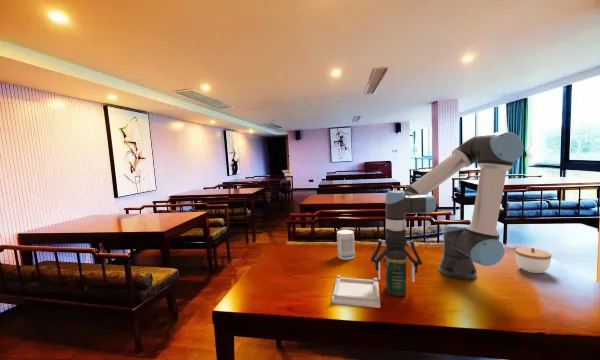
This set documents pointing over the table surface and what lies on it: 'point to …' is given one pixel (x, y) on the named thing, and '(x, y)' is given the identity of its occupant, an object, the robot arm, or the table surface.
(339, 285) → the white square tray
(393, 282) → the coffee jar
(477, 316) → the table surface
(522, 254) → the lidded bowl
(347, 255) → the supplement tub
